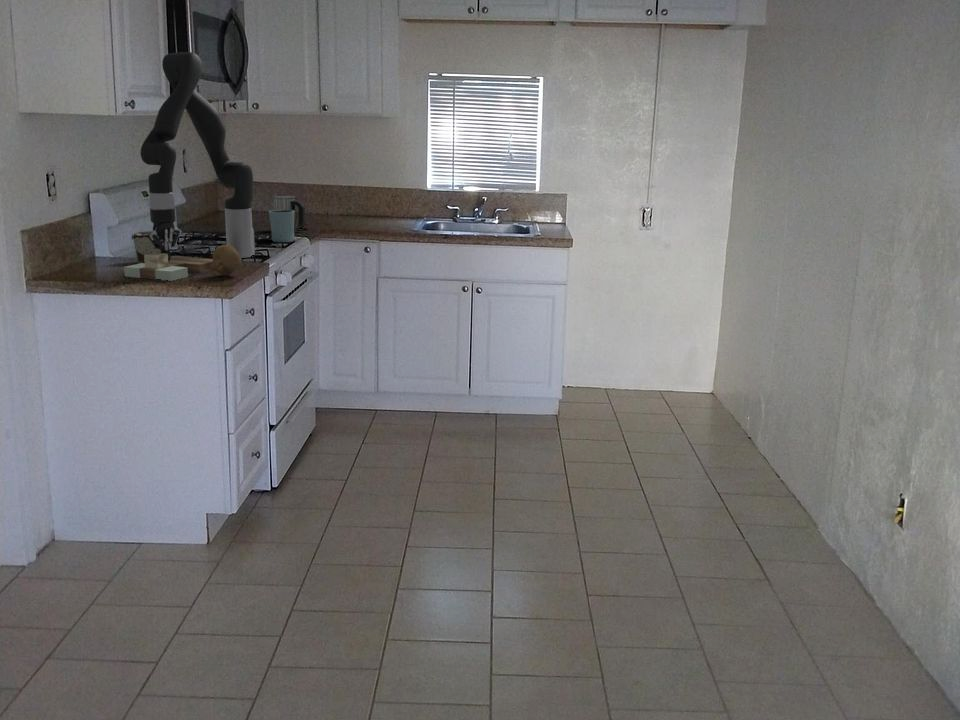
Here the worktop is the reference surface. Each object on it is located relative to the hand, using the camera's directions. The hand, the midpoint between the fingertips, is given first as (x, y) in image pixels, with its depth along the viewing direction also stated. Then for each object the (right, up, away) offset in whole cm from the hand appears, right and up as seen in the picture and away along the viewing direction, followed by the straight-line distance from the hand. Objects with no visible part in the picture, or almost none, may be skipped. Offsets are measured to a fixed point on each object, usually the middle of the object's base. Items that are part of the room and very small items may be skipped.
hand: (166, 261), depth 299 cm
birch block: (-2, -2, -4) cm, 5 cm away
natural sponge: (+20, -5, 0) cm, 20 cm away
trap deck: (+1, -3, +4) cm, 5 cm away
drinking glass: (+21, +16, +76) cm, 81 cm away
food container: (-12, +2, +24) cm, 27 cm away
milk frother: (+19, +24, +106) cm, 110 cm away
